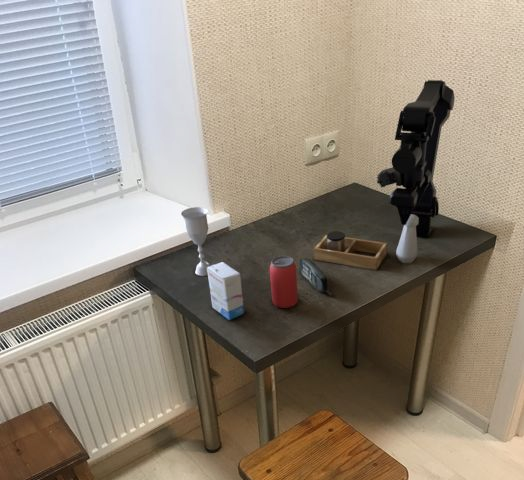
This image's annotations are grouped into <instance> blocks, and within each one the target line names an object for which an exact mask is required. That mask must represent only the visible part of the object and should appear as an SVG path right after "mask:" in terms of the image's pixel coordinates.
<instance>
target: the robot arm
mask: <svg viewBox="0 0 524 480" xmlns="http://www.w3.org/2000/svg"><path fill="white" fill-rule="evenodd" d="M454 106H455V92H454V89H452V88H451V87H449V86H447V84H446V81H443V80H441V79H428V80H425V81H424V83H423V88H422V89H421V91H420V93H419V95H418V96H417V98H416V99H415V101H412V102H409V103H407V104H406V105H405V106H404V107H403V109H402V110H400V113H399V116H398V122H397V126H396V130H395V136H394V141H400V146H399V147H398V149H396V151H395V152H394V154H393V155H392V158H391V165H392V167H389V168H385V169H382V170H381V171H380V172H379V173H378V174H377V177H376V178H377V179H376V180H377V181H376V183H377V184H378V185H379V186H380V188H385V187H386V186H390V185H394V184H395V187H396V188H395V189H394V190H392V192H391V194H390V195H389V197H388V198H389V199H388V203H389V204H390V205H392V206H394V207H396V208H397V212H398V215H399V219H400V225H403V226H404V225H406V223H407V221H408V219H409V217H410V215H411V214H413V215H416V216H417V217H418V218H419V222H418V225H417V226H416V237H417V238H418V237H420V238H425V239H427V238H429V237H430V235H431V233H432V231H433V229H434V228H433V226H431V220H432V218H435V217H437V216H439V211H440V205H439V203H440V202H439V199H438V196H437V189H436V187H435V184H434V182H433V180H434V175H435V168H436V163H437V157H438V151H439V146H440V139H441V133H442V127H443V126H444V125H445V123H446V122H447V120H449V118H450V115H451V111H453V110H454ZM401 186H402V187H401Z"/></svg>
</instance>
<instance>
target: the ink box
mask: <svg viewBox="0 0 524 480" xmlns="http://www.w3.org/2000/svg"><path fill="white" fill-rule="evenodd" d="M207 272H208V275H207V278H208V286H209V291H210V292H209V293H210V299H211V307H212V309H214V310H215V311H216V312H218V313H219V314H220V315H222V316H223V317H225V319H226V320H228V321H231V320H234V319H235V318H237V317H239V316H242V315H244V314H245V307H244V299H243V298H244V297H243V289H242V279H241V273H240V272H238V271H237V270H236V269H234V268H232V267H231V266H229V265H228V264H226V263H225V262H223V261H221V262H218V263H216V264H212V265H210V266H209V267H208V268H207Z"/></svg>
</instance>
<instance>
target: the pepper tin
mask: <svg viewBox="0 0 524 480" xmlns="http://www.w3.org/2000/svg"><path fill="white" fill-rule="evenodd" d="M345 237H346V233H344V232H343V231H340V230H334V231H330V232H328V233H327V248H326V250H333V251H339V252H345V251H346V249H345Z"/></svg>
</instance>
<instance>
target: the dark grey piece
mask: <svg viewBox="0 0 524 480" xmlns="http://www.w3.org/2000/svg"><path fill="white" fill-rule="evenodd" d="M299 271H300V274H301V275H302V276H303V277H304V278H305V279H306V280H307V281H308V282H309V283H310V284H311V285H312V287H313V288H314V289H315V290H317V291H319V292H321V293H324V292H325V293H327V294H328V295H329V296H332V292H331V291H330V290H329V279H328V276H327V275H326V274H325V272H324V271H323V270H322V269H321V268H320V267H319V266H318V265H317V264H316V263H315V262H314V261H313V260H311V259H310V258H307V257H302V258H300V259H299Z"/></svg>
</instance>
